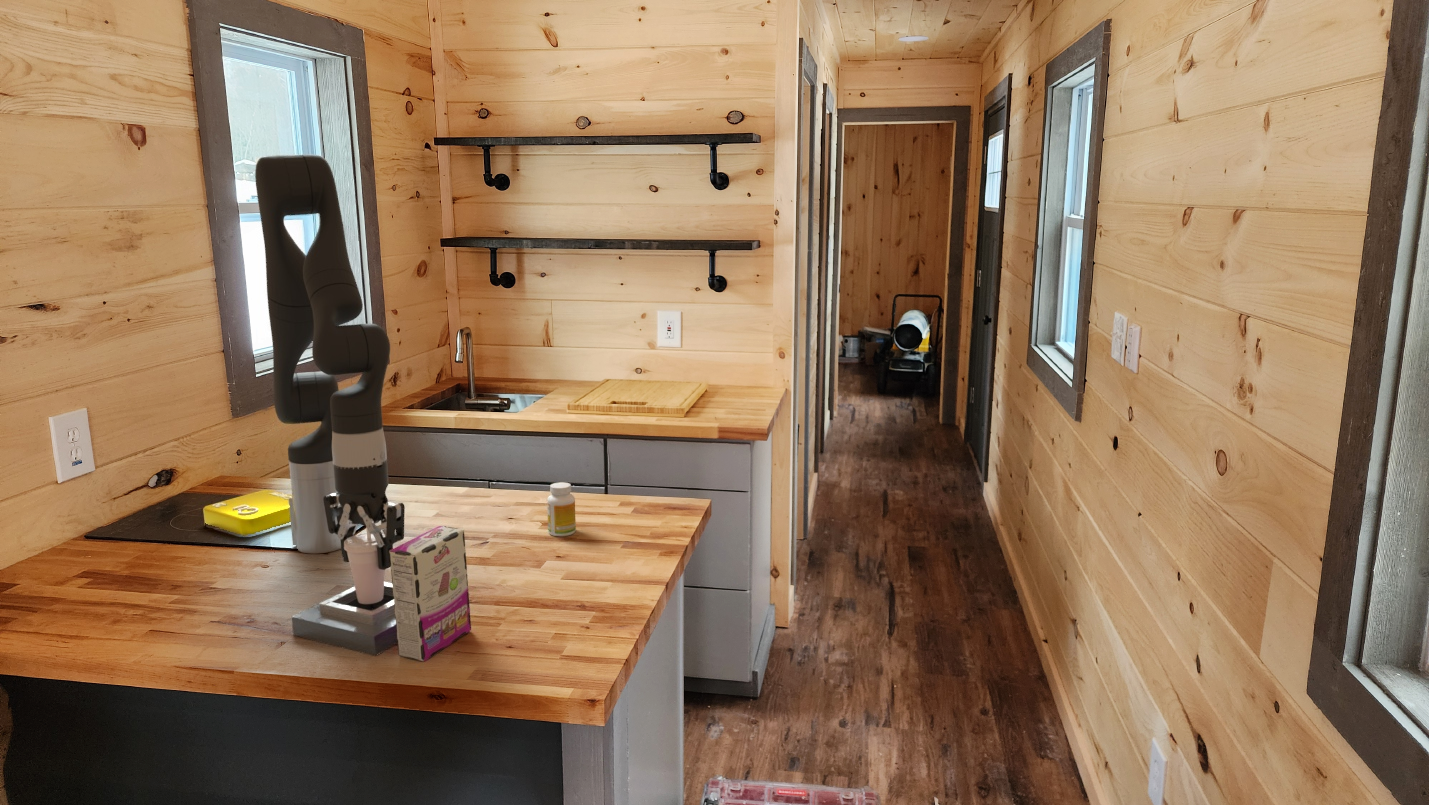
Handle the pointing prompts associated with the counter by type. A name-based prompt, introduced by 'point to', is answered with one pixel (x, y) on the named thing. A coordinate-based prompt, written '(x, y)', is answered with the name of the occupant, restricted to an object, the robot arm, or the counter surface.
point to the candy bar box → (430, 592)
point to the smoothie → (365, 567)
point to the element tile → (250, 512)
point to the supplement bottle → (561, 510)
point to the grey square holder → (350, 622)
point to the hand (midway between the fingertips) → (368, 564)
